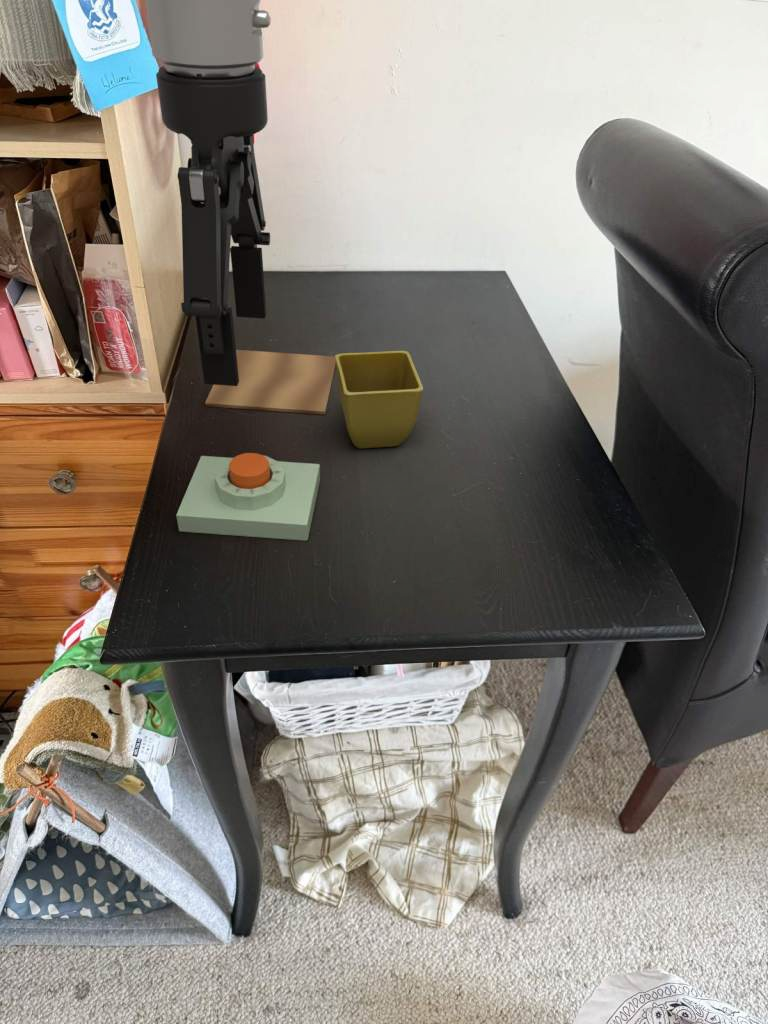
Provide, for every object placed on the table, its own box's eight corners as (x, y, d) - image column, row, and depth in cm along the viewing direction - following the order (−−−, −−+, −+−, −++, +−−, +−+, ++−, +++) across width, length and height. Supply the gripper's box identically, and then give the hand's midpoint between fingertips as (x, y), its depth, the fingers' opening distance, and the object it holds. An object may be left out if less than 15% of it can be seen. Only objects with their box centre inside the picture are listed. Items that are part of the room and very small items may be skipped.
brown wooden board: (205, 406, 91) (204, 403, 90) (229, 352, 101) (229, 349, 101) (325, 414, 90) (325, 411, 90) (337, 359, 101) (337, 356, 101)
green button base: (178, 531, 73) (173, 501, 71) (203, 471, 81) (199, 441, 78) (307, 541, 73) (306, 510, 70) (320, 479, 81) (319, 450, 78)
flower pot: (418, 456, 85) (424, 389, 79) (343, 461, 83) (344, 393, 78) (403, 414, 91) (408, 349, 85) (334, 419, 90) (334, 353, 84)
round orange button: (226, 488, 73) (224, 474, 72) (235, 464, 76) (233, 451, 75) (266, 491, 73) (265, 477, 72) (273, 467, 76) (272, 453, 75)
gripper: (225, 107, 42) (253, 425, 56) (290, 41, 60) (299, 292, 74) (95, 99, 42) (156, 418, 56) (200, 35, 60) (226, 288, 74)
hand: (237, 347), depth 65 cm, fingers open, 12 cm apart
